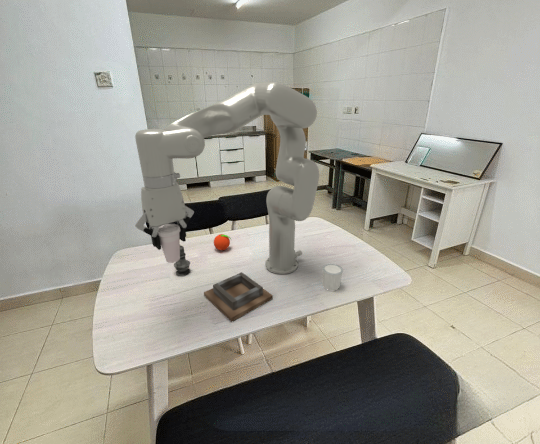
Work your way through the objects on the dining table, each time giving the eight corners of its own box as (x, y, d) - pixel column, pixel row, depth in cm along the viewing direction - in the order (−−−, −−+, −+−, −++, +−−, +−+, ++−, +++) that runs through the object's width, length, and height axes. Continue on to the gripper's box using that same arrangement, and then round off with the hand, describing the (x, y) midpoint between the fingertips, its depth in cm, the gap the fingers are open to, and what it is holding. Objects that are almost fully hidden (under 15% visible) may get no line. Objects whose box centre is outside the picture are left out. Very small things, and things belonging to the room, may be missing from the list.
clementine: (234, 246, 127) (233, 231, 124) (230, 253, 121) (229, 238, 118) (216, 245, 128) (215, 230, 125) (212, 252, 121) (210, 237, 119)
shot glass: (329, 294, 96) (331, 276, 93) (317, 283, 101) (318, 266, 99) (345, 288, 99) (347, 271, 96) (332, 278, 104) (334, 261, 101)
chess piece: (186, 277, 105) (182, 248, 100) (172, 275, 106) (167, 246, 101) (193, 268, 110) (190, 240, 106) (179, 267, 111) (175, 239, 107)
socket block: (243, 277, 105) (243, 267, 103) (272, 299, 94) (272, 287, 92) (204, 295, 95) (203, 284, 93) (231, 322, 84) (230, 309, 82)
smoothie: (164, 254, 84) (156, 209, 79) (186, 253, 85) (180, 208, 79) (158, 266, 79) (149, 218, 73) (182, 264, 79) (175, 217, 73)
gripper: (185, 172, 80) (192, 230, 87) (118, 184, 70) (133, 249, 77) (198, 177, 75) (205, 238, 82) (128, 191, 65) (143, 260, 72)
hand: (170, 243), depth 80 cm, fingers closed on smoothie, 6 cm apart
